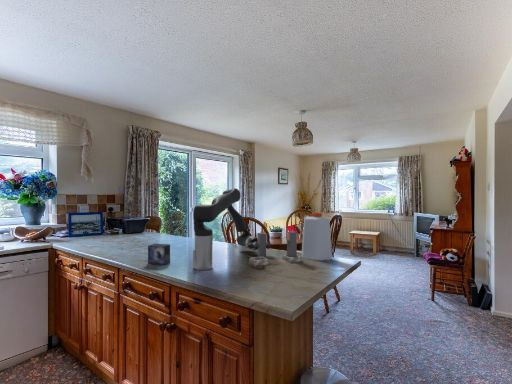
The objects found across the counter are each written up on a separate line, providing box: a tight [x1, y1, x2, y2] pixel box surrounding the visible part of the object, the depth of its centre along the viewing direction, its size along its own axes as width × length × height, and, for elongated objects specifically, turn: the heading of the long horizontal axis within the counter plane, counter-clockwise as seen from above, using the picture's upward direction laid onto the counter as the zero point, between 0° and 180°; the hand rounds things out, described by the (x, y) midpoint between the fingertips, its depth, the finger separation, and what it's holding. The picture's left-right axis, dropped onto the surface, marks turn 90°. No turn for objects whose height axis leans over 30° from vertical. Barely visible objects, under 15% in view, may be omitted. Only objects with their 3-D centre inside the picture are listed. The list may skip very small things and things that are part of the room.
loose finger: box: [256, 232, 268, 258], centre depth 163 cm, size 5×4×16 cm
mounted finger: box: [285, 230, 298, 257], centre depth 157 cm, size 5×4×16 cm
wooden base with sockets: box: [248, 254, 303, 269], centre depth 154 cm, size 28×9×4 cm, turn 111°
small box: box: [147, 243, 171, 266], centre depth 155 cm, size 11×6×10 cm, turn 76°
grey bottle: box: [301, 211, 333, 261], centre depth 167 cm, size 15×15×28 cm
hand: (263, 247), depth 161 cm, fingers open, 6 cm apart
